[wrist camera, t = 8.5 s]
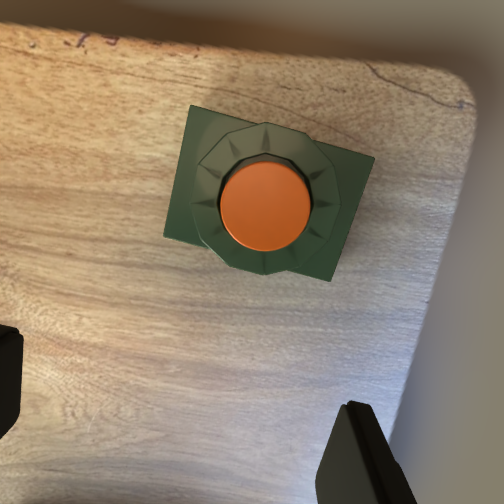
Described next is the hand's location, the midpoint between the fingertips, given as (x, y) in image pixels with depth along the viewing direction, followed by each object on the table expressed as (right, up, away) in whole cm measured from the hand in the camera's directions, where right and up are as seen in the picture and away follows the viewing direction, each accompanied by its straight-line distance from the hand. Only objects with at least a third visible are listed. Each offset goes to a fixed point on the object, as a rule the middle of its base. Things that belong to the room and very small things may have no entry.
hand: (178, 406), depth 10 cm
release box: (+3, +7, +8) cm, 12 cm away
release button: (+3, +7, +5) cm, 9 cm away
